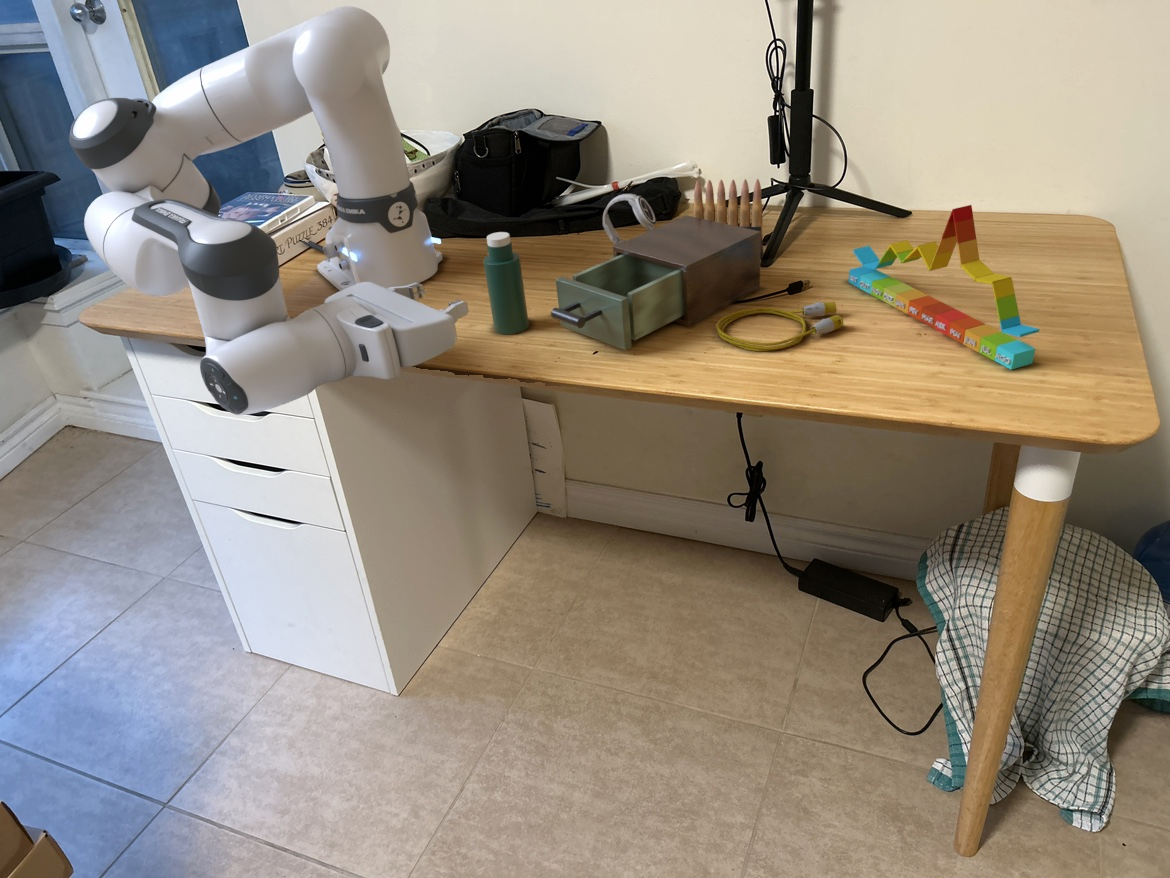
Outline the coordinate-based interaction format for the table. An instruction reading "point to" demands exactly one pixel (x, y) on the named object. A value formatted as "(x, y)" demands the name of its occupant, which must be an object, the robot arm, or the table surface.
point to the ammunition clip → (731, 206)
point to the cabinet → (702, 261)
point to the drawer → (620, 299)
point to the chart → (941, 314)
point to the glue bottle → (505, 285)
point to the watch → (640, 211)
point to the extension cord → (810, 310)
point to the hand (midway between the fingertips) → (442, 297)
